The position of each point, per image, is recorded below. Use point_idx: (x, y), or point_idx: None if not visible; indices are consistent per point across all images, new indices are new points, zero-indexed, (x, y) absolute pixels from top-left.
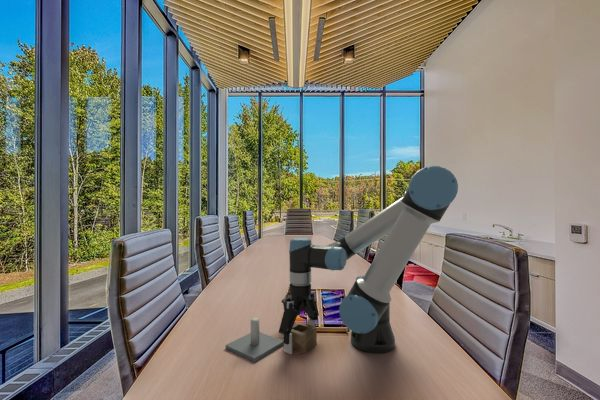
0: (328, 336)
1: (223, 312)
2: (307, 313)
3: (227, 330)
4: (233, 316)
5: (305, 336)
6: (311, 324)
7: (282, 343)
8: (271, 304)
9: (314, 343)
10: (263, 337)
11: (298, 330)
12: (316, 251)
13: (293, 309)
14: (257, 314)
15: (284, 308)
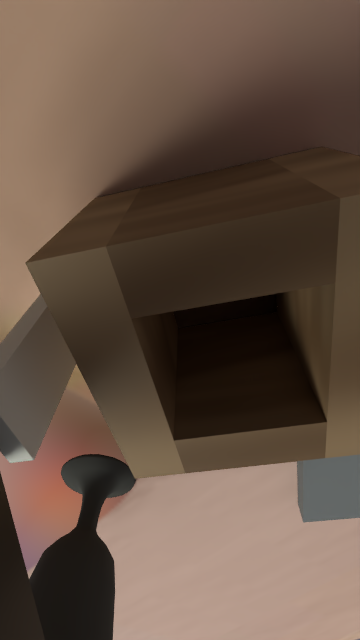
0: None
1: (247, 623)
2: (12, 553)
3: (352, 561)
4: (243, 602)
5: (335, 187)
6: (26, 381)
7: None
8: None
9: (125, 194)
10: (344, 464)
11: (187, 389)
12: None
13: (53, 603)
14: (157, 583)
15: (112, 629)
